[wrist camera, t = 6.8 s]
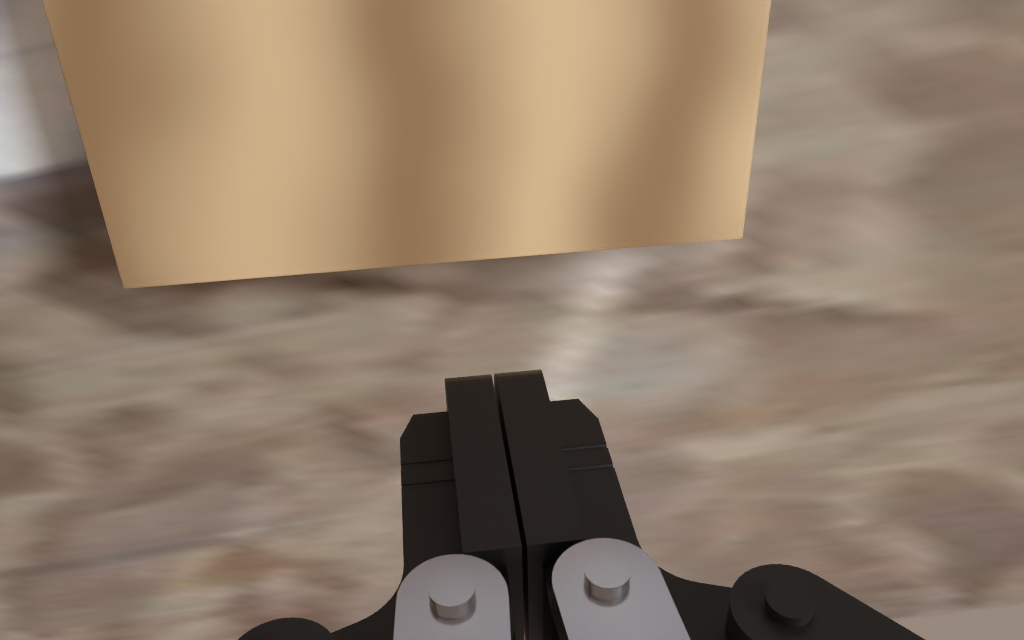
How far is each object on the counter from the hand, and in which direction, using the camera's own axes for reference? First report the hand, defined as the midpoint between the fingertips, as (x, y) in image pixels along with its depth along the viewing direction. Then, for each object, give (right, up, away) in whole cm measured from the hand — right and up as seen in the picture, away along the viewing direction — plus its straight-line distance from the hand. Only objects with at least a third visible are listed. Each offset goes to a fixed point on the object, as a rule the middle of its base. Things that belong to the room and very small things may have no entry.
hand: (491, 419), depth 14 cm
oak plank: (-2, +7, +9) cm, 12 cm away
